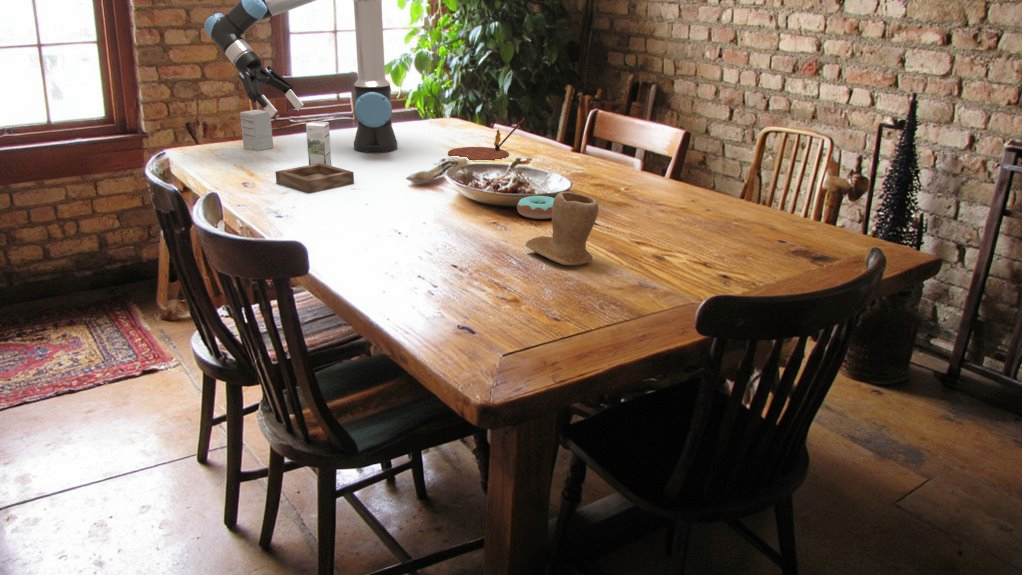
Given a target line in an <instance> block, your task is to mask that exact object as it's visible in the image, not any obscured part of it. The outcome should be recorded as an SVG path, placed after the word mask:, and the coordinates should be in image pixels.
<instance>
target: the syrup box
mask: <svg viewBox="0 0 1022 575" xmlns="http://www.w3.org/2000/svg"><path fill="white" fill-rule="evenodd" d="M305 130H306V143H307V144H306V145H307V154H308V157H307V158H308V165H313V164H318V163H322V164H326V165H330V166H333V164H332V155H331V138H330V136H331V135H330V122H328V121H309V122H307V123H306V124H305Z"/></svg>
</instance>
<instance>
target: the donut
mask: <svg viewBox="0 0 1022 575" xmlns="http://www.w3.org/2000/svg"><path fill="white" fill-rule="evenodd" d="M554 198H555V197H551V196H548V195H547V196H546V195H531V196H526V197H523V198H520V199H519V201H518V202H517V205H516V210H517V213H519V215H521V216H523V217H525V218H527V219H532V220H549V219H552V206H553V201H554Z"/></svg>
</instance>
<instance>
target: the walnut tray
mask: <svg viewBox="0 0 1022 575" xmlns="http://www.w3.org/2000/svg"><path fill="white" fill-rule="evenodd" d="M274 172H275V173H274V174H275V181H276V182H275V184H277V185H281V186H283V187H286V188H290V189H294V190H297V191H300V192H303V193H307V194H312V192H313V193H317V192H321V190H322V191H327V190H331V189H336V188H340V187H345V186H349V185H350V186H351V185H354V184H355V176H354V173H355V172H354V171H351V170H347V169H344V168H340V167H337V166H334V165H332V166H330V165H326V164H322V163H318V164H313V165H309V164H308V165H303V166H297V167H292V168H287V169H282V170H277V171H274ZM335 187H336V188H335ZM326 189H327V190H326ZM316 191H317V192H316Z"/></svg>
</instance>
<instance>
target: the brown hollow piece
mask: <svg viewBox="0 0 1022 575" xmlns="http://www.w3.org/2000/svg"><path fill="white" fill-rule="evenodd" d="M553 198H554V201H553V206H552V218H551V224H552V226H551V227H552V236H536V237H533V238H531V239H528V240H527V241H526V242H525V247H526V248H528V249H530V250H531V251H533V252H534V253H537V254H539V255H541V256H542V257H545V258H546V259H548V260H550V261H552V262H555V263H558V264H560V265H564V266H580V265H585V264H588V263H589V262H592V260H593V259H594V258H593V255H592V254H591V253H590V252H589V251H588V250H587V249H586V248H587V246H586V245H587V241H588V238H589V236H590V234H591V231H592V230H593V227H594V226H595V223H596V221H597V218H598V215H599V203H598V201H597V200H596V199H595V198H593V197H590V196H588V195H585V194H581V193H576V192H574V191H573V192H572V191H560V192H558V193H557V194H556V195H555V197H553Z"/></svg>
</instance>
